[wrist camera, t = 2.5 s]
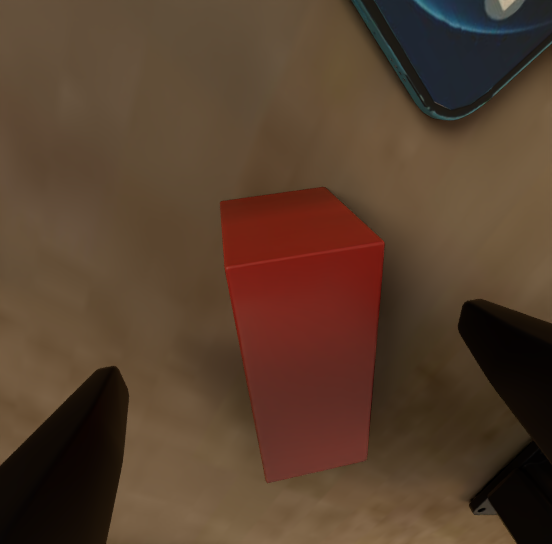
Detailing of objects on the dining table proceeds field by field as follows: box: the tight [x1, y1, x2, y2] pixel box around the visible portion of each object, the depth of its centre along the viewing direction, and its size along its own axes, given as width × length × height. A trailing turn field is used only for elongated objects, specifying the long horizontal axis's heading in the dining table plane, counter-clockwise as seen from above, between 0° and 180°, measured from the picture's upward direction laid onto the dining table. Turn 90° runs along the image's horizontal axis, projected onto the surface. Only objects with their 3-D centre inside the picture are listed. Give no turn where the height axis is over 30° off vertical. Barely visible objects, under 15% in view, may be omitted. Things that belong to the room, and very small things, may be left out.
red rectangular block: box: [220, 187, 385, 483], centre depth 9 cm, size 7×3×4 cm, turn 5°
